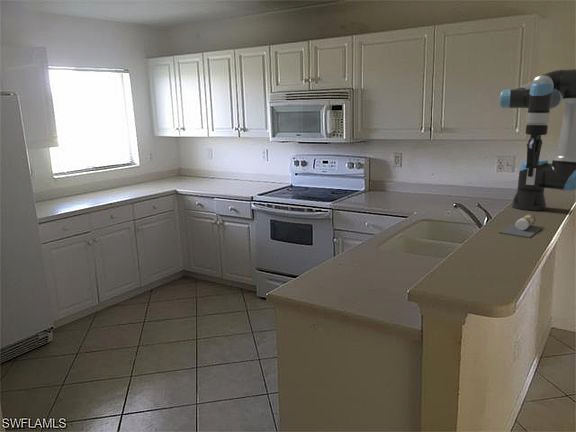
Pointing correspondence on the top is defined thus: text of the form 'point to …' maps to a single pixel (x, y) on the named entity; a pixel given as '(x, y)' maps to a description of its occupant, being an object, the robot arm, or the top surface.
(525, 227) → the sprinkles bottle
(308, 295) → the top surface
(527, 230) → the mat
